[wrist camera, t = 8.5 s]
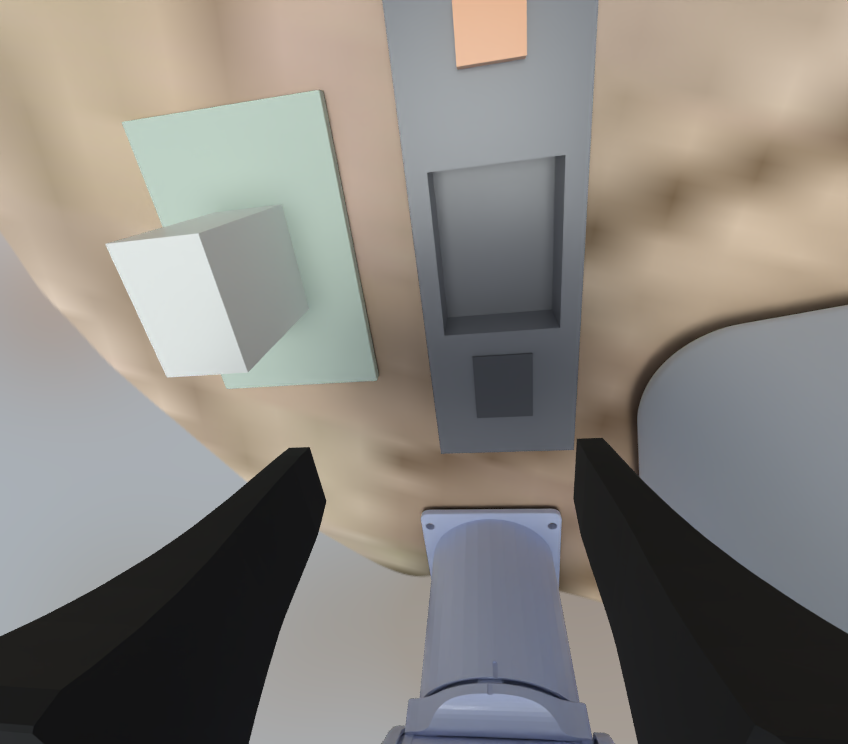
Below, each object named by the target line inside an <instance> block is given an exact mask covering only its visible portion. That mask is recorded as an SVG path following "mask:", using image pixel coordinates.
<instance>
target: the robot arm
mask: <svg viewBox="0 0 848 744" xmlns="http://www.w3.org/2000/svg"><path fill="white" fill-rule="evenodd" d="M574 503H575V508H576V513H577V519H578V523H579V528H580V533H581V537H582V540H583V543H584V546H585V549H586V553H587V556H588V559H589V562H590V565H591V568H592V571H593V574H594V577H595V580H596V583H597V586H598V589H599V592H600V595H601V598H602V601H603V604H604V607H605V610H606V613H607V616H608V620H609V623H610V626H611V630H612V633H613V637H614V640H615V644H616V647H617V652H618V656H619V660H620V665H621V669H622V674H623V678H624V682H625V687H626V691H627V696H628V700H629V705H630V709H631V714H632V718H633V723H634V727H635V732H636V737H637V741H638V744H848V633H846V632H844V631H843V630H841V629H839V628H838V627H836V626H834V625H833V624H831V623H829V622H828V621H826V620H824V619H823V618H821V617H819V616H818V615H816V614H815V613H813V612H811V611H810V610H808V609H807V608H805V607H803V606H802V605H800V604H799V603H797V602H796V601H794V600H793V599H791V598H790V597H788V596H787V595H785V594H784V593H782V592H781V591H779V590H778V589H776V588H775V587H773V586H772V585H770V584H769V583H767V582H766V581H764V580H763V579H761V578H760V577H758V576H757V575H755V574H754V573H753V572H751V571H750V570H748V569H747V568H745V567H744V566H743V565H741V564H740V563H739V562H737V561H736V560H735V559H733V558H732V557H731V556H729V555H728V554H727V553H725V552H724V551H723V550H721V549H720V548H719V547H717V546H716V545H715V544H714V543H712V542H711V541H710V540H708V539H707V538H706V537H705V536H703V535H702V534H701V533H700V532H699V531H697V530H696V529H695V528H694V527H693V526H692V525H690V524H689V523H688V522H687V521H686V520H685V519H684V518H682V517H681V516H680V515H679V514H678V513H677V512H676V511H674V510H673V509H672V508H671V507H670V506H669V505H668V504H667V503H666V502H665V501H664V500H663V499H662V498H660V497H659V496H658V495H657V494H656V493H655V492H654V491H653V490H652V489H651V488H650V487H649V486H648V485H647V484H646V483H645V482H644V481H643V480H642V479H641V478H640V477H639V476H638V475H637V474H636V473H635V472H634V471H633V470H632V469H631V468H630V467H629V466H628V465H627V464H626V462H625V461H624V460H623V459H622V458H621V457H620V456H619V455H618V454H617V453H616V452H615V451H614V450H613V448H612V447H611V446H610V445H609V444H608V443H607V442H606V441H605V440H604V439H603V438H588V439H577V448H576V465H575V482H574ZM325 505H326V499H325V495H324V492H323V489H322V486H321V482H320V479H319V476H318V473H317V470H316V466H315V463H314V460H313V457H312V454H311V450H310V447H304V448H289V449H287V450H286V451H285V452H283V453H282V454H281V455H280V456H278V457H277V458H276V459H275V460H273V461H272V462H271V463H270V464H269V465H268V466H266V467H265V468H264V469H263V470H262V471H261V472H259V473H258V474H257V475H256V476H255V477H254V478H252V479H251V480H250V481H249V482H248V483H246V484H245V485H244V486H243V487H242V488H241V489H239V490H238V491H237V492H236V493H235V494H233V495H232V496H231V497H230V498H229V499H228V500H226V501H225V502H224V503H222V504H221V505H220V506H219V507H217V508H216V509H215V510H213V511H212V512H211V513H210V514H208V515H207V516H206V517H205V518H203V519H202V520H201V521H199V522H198V523H197V524H196V525H194V526H193V527H192V528H190V529H189V530H187V531H186V532H185V533H184V534H182V535H180V536H179V537H178V538H176V539H175V540H173V541H172V542H171V543H169V544H168V545H166V546H164V547H163V548H162V549H160V550H159V551H157V552H156V553H154V554H152V555H151V556H149V557H148V558H146V559H145V560H143V561H141V562H140V563H138V564H136V565H135V566H133V567H131V568H130V569H128V570H126V571H125V572H123V573H121V574H120V575H118V576H116V577H115V578H113V579H111V580H110V581H108V582H106V583H105V584H103V585H101V586H99V587H98V588H96V589H94V590H92V591H90V592H89V593H87V594H85V595H83V596H81V597H79V598H78V599H76V600H74V601H72V602H70V603H68V604H66V605H64V606H62V607H60V608H58V609H56V610H54V611H53V612H51V613H49V614H47V615H45V616H43V617H41V618H39V619H37V620H34V621H32V622H30V623H28V624H26V625H24V626H22V627H20V628H17V629H15V630H13V631H11V632H9V633H7V634H4V635H3V636H0V744H249V740H250V736H251V732H252V728H253V724H254V719H255V716H256V712H257V708H258V705H259V701H260V697H261V694H262V690H263V686H264V683H265V679H266V676H267V672H268V668H269V665H270V662H271V658H272V655H273V652H274V648H275V645H276V642H277V638H278V635H279V631H280V629H281V626H282V624H283V621H284V618H285V615H286V613H287V610H288V608H289V605H290V603H291V600H292V598H293V595H294V593H295V590H296V588H297V585H298V583H299V581H300V578H301V576H302V573H303V571H304V568H305V566H306V563H307V561H308V558H309V556H310V553H311V551H312V548H313V546H314V543H315V541H316V538H317V535H318V532H319V528H320V525H321V521H322V517H323V513H324V509H325ZM421 523H422V529H423V534H424V540H425V546H426V551H427V557H428V563H429V569H430V574H431V590H430V600H429V610H428V619H427V629H426V640H425V650H424V660H423V670H422V680H421V691H420V698H415V699H414V698H411V699H409V701H408V709H407V717H406V726H400V725H399V726H395V727H393V728H392V729H391V730H390V731H389V732H388V734H387V735H386V737H385V739H384V741H383V742H382V743H381V744H615V743H614V742H613V740H612V738H611V737H610V736H609V735H608V734H606V733H595V732H594V733H593V739H592V734H591V729H590V724H589V719H588V714H587V708H586V705H585V704H584V703H581V702H579V697H578V691H577V686H576V680H575V675H574V670H573V664H572V659H571V653H570V648H569V643H568V637H567V632H566V626H565V621H564V615H563V610H562V605H561V599H560V594H559V570H560V547H561V523H562V518H561V514H560V512H559V511H558V510H556V509H456V510H425V511H423V513H422V516H421ZM429 523H431V524H429ZM550 523H554V524H550Z"/></svg>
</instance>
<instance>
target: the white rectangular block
mask: <svg viewBox="0 0 848 744" xmlns="http://www.w3.org/2000/svg"><path fill="white" fill-rule="evenodd" d="M106 247H107V249H108V251H109V253H110V255H111V257H112V260H113V262H114V264H115V266H116V268H117V270H118V273H119V275H120V277H121V279H122V281H123V283H124V285H125V288H126V290H127V292H128V294H129V296H130V298H131V301H132V303H133V305H134V307H135V309H136V311H137V314H138V316H139V318H140V320H141V322H142V324H143V327H144V329H145V331H146V333H147V335H148V337H149V340H150V342H151V344H152V346H153V348H154V350H155V353H156V355H157V357H158V359H159V361H160V363H161V366H162V368H163V370H164V372H165V374H166V376H167V377H181V376H198V375H215V374H231V373H248V372H249V371H250V370H251V369H252V368H253V367H254V366H255V365H256V364H257V363H258V362H259V361H260V360H261V358H262V357H263V356H264V355H265V354H266V353H267V352H268V351H269V350H270V349H271V348H272V347H273V346H274V345H275V344H276V343H277V342H278V341H279V340H280V339H281V338H282V337H283V336H284V335H285V334H286V333H287V331H288V330H289V329H290V328H291V327H292V326H293V325H294V324H295V323H296V322H297V321H298V320H299V319H300V318H301V317H302V316H303V315H304V314H305V313H306V312H307V311H308V310H309V307H308V303H307V299H306V295H305V291H304V287H303V283H302V280H301V276H300V272H299V268H298V264H297V260H296V257H295V253H294V249H293V245H292V241H291V237H290V234H289V230H288V226H287V222H286V218H285V214H284V210H283V207H282V204H279V205H271V206H263V207H255V208H246V209H238V210H230V211H222V212H214V213H210V214H207V215H204V216H200V217H197V218H193V219H190V220H186V221H183V222H179V223H176V224H172V225H169V226H166V227H162V228H159V229H155V230H152V231H148V232H145V233H141V234H138V235H135V236H131V237H128V238H124V239H121V240H117V241H114V242H110V243H107V244H106Z"/></svg>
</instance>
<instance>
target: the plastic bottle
mask: <svg viewBox="0 0 848 744" xmlns="http://www.w3.org/2000/svg"><path fill="white" fill-rule="evenodd" d="M637 428H638V454H639V477H640V478H641V479H642V480H643V481H644V482H645V483H646V484H647V485H648V486H649V487H650V488H651V489H652V490H653V491H654V492H655V493H656V494H657V495H658V496H659V497H660V498H662V499H663V500H664V501H665V502H666V503H667V504H668V505H669V506H670V507H671V508H672V509H673V510H674V511H676V512H677V513H678V514H679V515H680V516H681V517H682V518H684V519H685V520H686V521H687V522H688V523H689V524H690V525H692V526H693V527H694V528H695V529H696V530H697V531H699V532H700V533H701V534H702V535H703V536H705V537H706V538H707V539H708V540H710V541H711V542H712V543H714V544H715V545H716V546H717V547H719V548H720V549H721V550H723V551H724V552H725V553H727V554H728V555H729V556H731V557H732V558H733V559H735V560H736V561H737V562H739V563H740V564H741V565H743V566H744V567H745V568H747V569H748V570H750V571H751V572H753V573H754V574H755V575H757V576H758V577H760V578H761V579H763V580H764V581H766V582H767V583H769V584H770V585H772V586H773V587H775V588H776V589H778V590H779V591H781V592H782V593H784V594H785V595H787V596H788V597H790V598H791V599H793V600H794V601H796V602H797V603H799V604H800V605H802V606H803V607H805V608H807V609H808V610H810V611H811V612H813V613H815V614H816V615H818V616H819V617H821V618H823V619H824V620H826V621H828V622H829V623H831V624H833V625H834V626H836V627H838V628H839V629H841V630H843V631H844V632H846V633H848V305H844V306H839V307H833V308H827V309H822V310H816V311H810V312H805V313H799V314H793V315H788V316H782V317H776V318H771V319H765V320H760V321H754V322H748V323H743V324H738V325H733V326H729V327H725V328H722V329H719V330H716V331H713V332H711V333H708V334H706V335H704V336H702V337H700V338H698V339H696V340H694V341H692V342H690V343H689V344H687V345H686V346H684V347H683V348H681V349H680V350H678V351H677V352H676V353H674V354H673V355H672V356H671V357H670V358H669V359H667V360H666V361H665V362H664V363H663V364H662V365H661V366H660V368H659V369H658V370H657V371H656V372H655V374H654V375H653V376H652V378H651V379H650V381H649V382H648V384H647V386H646V388H645V390H644V392H643V395H642V397H641V401H640V405H639V409H638V415H637Z"/></svg>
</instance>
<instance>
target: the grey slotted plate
mask: <svg viewBox="0 0 848 744" xmlns="http://www.w3.org/2000/svg"><path fill="white" fill-rule="evenodd" d="M382 2H383V9H384V17H385V25H386V33H387V40H388V48H389V56H390V63H391V71H392V79H393V86H394V94H395V102H396V110H397V117H398V125H399V133H400V140H401V148H402V156H403V164H404V171H405V179H406V187H407V194H408V202H409V210H410V217H411V225H412V233H413V241H414V248H415V256H416V264H417V271H418V279H419V287H420V294H421V302H422V310H423V318H424V325H425V333H426V341H427V348H428V356H429V364H430V371H431V379H432V387H433V395H434V402H435V410H436V418H437V425H438V433H439V441H440V448H441V454H444V453H480V452H515V451H551V450H574V435H575V417H576V399H577V380H578V362H579V344H580V326H581V308H582V289H583V271H584V253H585V235H586V217H587V198H588V180H589V162H590V144H591V126H592V107H593V89H594V71H595V53H596V35H597V16H598V0H382Z"/></svg>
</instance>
